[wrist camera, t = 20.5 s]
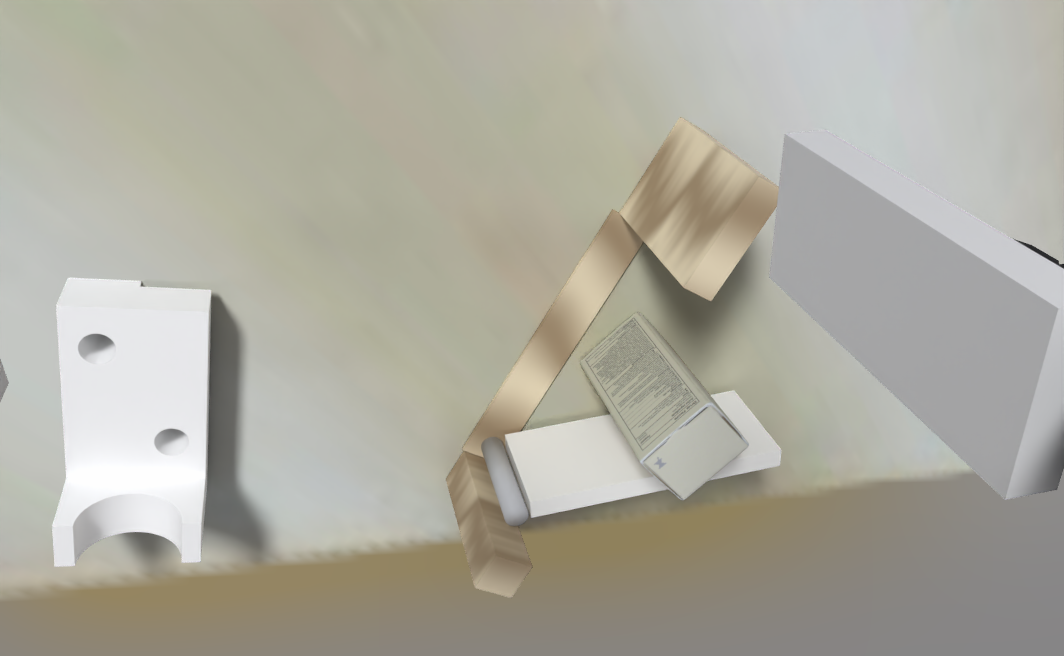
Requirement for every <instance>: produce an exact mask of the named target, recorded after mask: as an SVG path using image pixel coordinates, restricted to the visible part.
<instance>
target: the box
mask: <svg viewBox="0 0 1064 656" xmlns="http://www.w3.org/2000/svg"><path fill="white" fill-rule="evenodd" d="M580 365H581V367H582V368H583V370H584V372H585V374H586V375H587V377H588V378H589V380H590V382H591V383H592V385H593V386H594V388H595V390H596V391H597V393H598V394H599V396H600V398H601V399H602V401H603V402H604V404H605V406H606V407H607V409H608V411H609V412H610V414H611V416H612V417H613V419H614V421H615V422H616V424H617V425H618V427H619V429H620V430H621V432H622V434H623V435H624V437H625V439H626V440H627V442H628V444H629V445H630V447H631V449H632V450H633V452H634V453H635V455H636V457H637V459H638V460H639V462H640V463H641V464H642V465H643V466H644V467H645V468H646V469H647V470H648V471H649V472H650V473H651V474H652V475H653V476H654V477H655V478H656V479H657V480H659V481H660V482H661V483H662V484H663V485H664V486H665V487H666V488H668V489H669V490H670V491H671V492H672V493H673V494H675V495H676V496H677V497H678V498H679V499H681V500H685V499H686V498H687V497H689V496H690V495H691V494H693V493H694V492H695V491H696V490H697V489H699V488H700V487H701V486H702V485H704V484H705V483H706V482H707V481H708V480H710V479H711V478H712V477H713V476H715V475H716V474H717V473H718V472H719V471H720V470H722V469H723V468H724V467H725V466H726V465H728V464H729V463H730V462H731V461H732V460H733V459H735V458H736V457H737V456H738V455H739V454H740V453H742V452H743V451H744V450H745V449H746V448H747V447H748V446H749V443H748V442H747V440H746V439H745V438H744V437H743V435H742V434H741V433H740V431H739V430H738V429H737V428H736V426H735V425H734V424H733V423H732V421H731V420H730V419H729V418H728V416H727V415H726V414H725V413H724V412H723V410H722V409H721V408H720V407H719V405H718V404H717V403H716V402H715V400H714V399H713V398H712V397H711V395H710V394H709V393H708V392H707V390H706V389H705V388H704V387H703V386H702V384H701V383H700V382H699V381H698V379H697V378H696V377H695V376H694V374H693V373H692V372H691V371H690V369H689V368H688V367H687V365H686V364H685V363H684V362H683V360H682V359H681V358H680V357H679V355H678V354H677V353H676V352H675V350H674V349H673V348H672V347H671V346H670V345H669V343H668V342H667V341H666V340H665V339H664V338H663V336H662V335H661V334H660V333H659V332H658V331H657V330H656V329H655V327H654V326H653V325H652V324H651V323H650V322H649V321H648V320H647V319H646V318H645V317H644V316H643V315H642V314H641V313H640V312H637V313H635V314H634V315H632V316H631V317H630V318H629V319H627V320H626V321H625V322H624V323H623V324H621V325H620V326H619V327H618V328H617V329H616V330H614V331H613V332H612V333H611V334H610V335H609V336H608V337H607V338H606V339H604V340H603V341H602V342H601V343H600V344H599V345H597V346H596V347H595V348H594V349H593V350H592V351H591V352H590V353H589V354H588V355H587V356H586V357H585V358H583V359H582V360H581V361H580Z"/></svg>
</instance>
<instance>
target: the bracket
mask: <svg viewBox="0 0 1064 656" xmlns="http://www.w3.org/2000/svg"><path fill="white" fill-rule="evenodd" d="M56 312H57V329H58V346H59V363H60V380H61V396H62V413H63V430H64V447H65V464H66V481H65V485H64V488H63V491H62V495H61V498H60V501H59V505H58V508H57V512H56V515H55V518H54V522H53V525H52V533H53V548H54V562H55V567H57V566H75V564H76V562H77V560H78V558H79V556H80V555H81V554H82V553H83V552H84V551H85V550H86V549H87V548H88V547H90V546H91V545H92V544H94V543H96V542H97V541H99V540H102V539H104V538H106V537H109V536H112V535H116V534H121V533H127V532H146V533H152V534H156V535H160V536H162V537H165V538H167V539H168V540H170V541H171V542H173V543H174V544H175V545H176V546H177V548H178V549H179V551H180V553H181V556H182V563H184V562H201V551H202V540H203V528H204V517H205V505H206V494H207V468H208V421H209V373H210V326H211V290H203V289H181V288H160V287H141V281H129V280H108V279H87V278H68V279H67V281H66V283H65V286H64V288H63V291H62V293H61V295H60V298H59V300H58V303H57V305H56Z"/></svg>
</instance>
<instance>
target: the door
mask: <svg viewBox="0 0 1064 656" xmlns="http://www.w3.org/2000/svg"><path fill="white" fill-rule="evenodd" d="M711 397H712V398H713V399H714V400H715V402H716V403H717V404H718V405H719V407H720V408H721V409H722V410H723V412H724V413H725V414H726V415H727V416H728V418H729V419H730V420H731V421H732V423H733V424H734V425H735V426H736V428H737V429H738V430H739V431H740V433H741V434H742V435H743V437H744V438H745V439H746V440H747V442H748V443H749V446H748V447H747V448H746V449H745V450H744V451H743V452H742V453H740V454H739V455H738V456H737V457H736V458H735V459H733V460H732V461H731V462H730V463H729V464H728V465H726V466H725V467H724V468H723V469H722V470H720V471H719V472H718V473H717V474H716V475H715V476H713V477H712V478H711V479H710V480H714V479H719V478H724V477H728V476H733V475H738V474H743V473H747V472H752V471H757V470H762V469H766V468H771V467H776V466H780V460H781V449H780V447H779V446H778V445H777V444H776V442H775V441H774V440H773V439H772V437H771V436H770V435H769V434H768V432H767V431H766V430H765V429H764V427H763V426H762V425H761V424H760V422H759V421H758V420H757V419H756V417H755V416H754V415H753V414H752V412H751V411H750V410H749V409H748V407H747V406H746V405H745V404H744V402H743V401H742V400H741V398H740V397H739V396H738V395H737V393H736V392H735V391H734V390H733V391H728V392H723V393H718V394H712V395H711ZM505 445H506V451H507V454H508V456H507V454H506V451H505V448H504V446H503V443H502V441H501V439H499V438H497V437H489V438H487V439H485V440H484V441H483V442H482V444H481V450H482V453H483V456H484V459H485V462H486V465H487V468H488V471H489V474H490V477H491V480H492V483H493V486H494V489H495V492H496V495H497V498H498V501H499V504H500V507H501V510H502V513H503V516H504V519H505V522H506V523H507V524H508V525H510V526H519V525H521V524H523V523H524V522H525V521H526V520H527V519H528V516H529V514H528V510H529V513H530V516H531V518H534V517H538V516H543V515H548V514H553V513H557V512H562V511H567V510H572V509H576V508H581V507H586V506H591V505H595V504H600V503H605V502H610V501H614V500H619V499H624V498H629V497H633V496H638V495H643V494H648V493H652V492H657V491H662V490H667V489H668V488H666V487H665V486H664V485H663V484H662V483H661V482H660V481H659V480H657V479H656V478H655V477H654V476H653V475H652V474H651V473H650V472H649V471H648V470H647V469H646V468H645V467H644V466H643V465H642V464H641V463H640V462H639V460H638V459H637V457H636V455H635V453H634V452H633V450H632V449H631V447H630V445H629V444H628V442H627V440H626V439H625V437H624V435H623V434H622V432H621V430H620V429H619V427H618V425H617V424H616V422H615V421H614V419H613V417H612V416H611V414H609V415H604V416H599V417H594V418H588V419H583V420H578V421H573V422H568V423H562V424H557V425H552V426H547V427H542V428H537V429H531V430H526V431H521V432H516V433H511V434H506V435H505ZM508 457H509V459H510V462H511V465H512V467H513V470H514V473H515V475H516V478H517V481H518V483H517V481H516V478H515V475H514V473H513V470H512V467H511V465H510V462H509V459H508ZM708 481H709V480H708ZM518 484H519V486H520V489H521V492H522V494H523V497H524V500H525V502H526V505H527V508H528V510H527V508H526V505H525V502H524V500H523V497H522V494H521V492H520V489H519V486H518Z"/></svg>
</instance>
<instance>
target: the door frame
mask: <svg viewBox="0 0 1064 656" xmlns="http://www.w3.org/2000/svg"><path fill="white" fill-rule="evenodd" d="M778 191H779V187H778V186H777V185H776V184H774V183H773V182H772V181H770V180H769V179H768V178H766V177H765V176H764V175H762V174H761V173H760V172H758V171H757V170H756V169H754V168H753V167H752V166H750V165H749V164H748V163H746V162H745V161H744V160H742V159H741V158H740V157H738V156H737V155H736V154H734V153H733V152H732V151H730V150H729V149H728V148H726V147H725V146H724V145H722V144H721V143H720V142H718V141H717V140H716V139H714V138H713V137H712V136H710V135H709V134H708V133H706V132H705V131H703V130H702V129H700V128H698V127H697V126H695V125H693V124H692V123H690V122H688V121H687V120H685V119H683V118H682V117H680V118H679V120H678V121H677V123H676V124H675V126H674V128H673V129H672V131H671V132H670V134H669V135H668V137H667V139H666V140H665V142H664V143H663V145H662V147H661V148H660V150H659V151H658V153H657V154H656V156H655V158H654V159H653V161H652V162H651V164H650V165H649V167H648V169H647V170H646V172H645V173H644V175H643V176H642V178H641V180H640V181H639V183H638V184H637V186H636V188H635V189H634V191H633V192H632V194H631V195H630V197H629V199H628V200H627V202H626V203H625V205H624V206H623V208H622V210H621V211H620V213H618V212H616V211H614V210H612V211H611V213H610V214H609V216H608V217H607V219H606V221H605V222H604V224H603V225H602V227H601V229H600V230H599V232H598V233H597V235H596V236H595V238H594V240H593V241H592V243H591V244H590V246H589V248H588V249H587V251H586V252H585V254H584V256H583V257H582V259H581V260H580V262H579V263H578V265H577V267H576V268H575V270H574V271H573V273H572V275H571V276H570V278H569V279H568V281H567V282H566V284H565V286H564V287H563V289H562V290H561V292H560V294H559V295H558V297H557V298H556V300H555V302H554V303H553V305H552V306H551V308H550V309H549V311H548V313H547V314H546V316H545V317H544V319H543V321H542V322H541V324H540V325H539V327H538V328H537V330H536V332H535V333H534V335H533V336H532V338H531V340H530V341H529V343H528V344H527V346H526V348H525V349H524V351H523V352H522V354H521V355H520V357H519V359H518V360H517V362H516V363H515V365H514V367H513V368H512V370H511V371H510V373H509V374H508V376H507V378H506V379H505V381H504V382H503V384H502V386H501V387H500V389H499V390H498V392H497V394H496V395H495V397H494V398H493V400H492V401H491V403H490V405H489V406H488V408H487V409H486V411H485V413H484V414H483V416H482V417H481V419H480V420H479V422H478V424H477V425H476V427H475V428H474V430H473V432H472V433H471V435H470V436H469V438H468V440H467V441H466V443H465V444H464V446H463V447H462V450H464V451H463V453H462V454H461V456H460V457H459V459H458V461H457V462H456V464H455V465H454V467H453V468H452V470H451V472H450V473H449V475H448V476H447V478H446V481H447V485H448V489H449V493H450V496H451V500H452V504H453V508H454V511H455V515H456V519H457V522H458V526H459V530H460V534H461V537H462V541H463V545H464V549H465V552H466V556H467V560H468V564H469V567H470V571H471V575H472V578H473V582H474V586H475V588H477V589H481V590H484V591H488V592H492V593H495V594H499V595H502V596H506V597H509V598H512V596H513V594H514V593H515V592H516V590H517V589H518V587H519V586H520V585H521V583H522V581H523V580H524V579H525V577H526V576H527V574H528V573H529V572H530V570H531V569H532V564H531V561H530V558H529V556H528V553H527V550H526V547H525V544H524V541H523V538H522V535H521V533H520V530H519V527H518V526H510V525H508V524H507V523H506V522H505V519H504V516H503V513H502V510H501V507H500V504H499V501H498V498H497V495H496V492H495V489H494V486H493V483H492V480H491V477H490V474H489V471H488V468H487V465H486V462H485V459H484V456H483V453H482V450H481V444H482V442H483V441H484V440H485V439H487V438H489V437H497V438H499V439H501V441H502V443H503V446H504V448H505V451H506V445H505V435H506V434H511V433H516V432H520V431H521V430H522V428H523V427H524V425H525V424H526V422H527V420H528V419H529V417H530V416H531V414H532V413H533V411H534V410H535V408H536V407H537V405H538V404H539V402H540V400H541V399H542V397H543V396H544V394H545V393H546V391H547V390H548V388H549V387H550V385H551V384H552V382H553V380H554V379H555V377H556V376H557V374H558V373H559V371H560V370H561V368H562V367H563V365H564V364H565V362H566V360H567V359H568V357H569V356H570V354H571V353H572V351H573V350H574V348H575V347H576V345H577V344H578V342H579V340H580V339H581V337H582V336H583V334H584V333H585V331H586V330H587V328H588V327H589V325H590V324H591V322H592V320H593V319H594V317H595V316H596V314H597V313H598V311H599V310H600V308H601V307H602V305H603V304H604V302H605V300H606V299H607V297H608V296H609V294H610V293H611V291H612V290H613V288H614V287H615V285H616V284H617V282H618V280H619V279H620V277H621V276H622V274H623V273H624V271H625V270H626V268H627V267H628V265H629V264H630V262H631V260H632V259H633V257H634V256H635V254H636V253H637V251H638V250H639V248H640V247H641V245H642V244H643V242H645V243H646V245H647V246H648V247H649V248H650V249H651V250H652V252H653V253H654V254H655V255H656V256H657V257H658V259H659V260H660V261H661V262H662V263H663V264H664V266H665V267H666V268H667V269H668V270H669V271H670V272H671V274H672V275H673V276H674V277H675V278H676V279H677V281H678V282H679V283H680V284H681V285H682V286H683V288H685V289H687V290H689V291H691V292H693V293H695V294H697V295H699V296H701V297H703V298H705V299H707V300H709V301H712V299H713V298H714V296H715V295H716V294H717V292H718V291H719V289H720V288H721V286H722V285H723V283H724V282H725V281H726V279H727V278H728V276H729V275H730V273H731V272H732V270H733V269H734V268H735V266H736V265H737V263H738V262H739V260H740V259H741V257H742V256H743V255H744V253H745V252H746V250H747V249H748V247H749V246H750V244H751V243H752V242H753V240H754V239H755V237H756V236H757V234H758V233H759V231H760V230H761V229H762V227H763V226H764V224H765V223H766V221H767V220H768V218H769V217H770V216H771V214H772V213H773V211H774V210H775V208H776V207H777V200H778ZM506 453H507V451H506Z"/></svg>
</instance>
